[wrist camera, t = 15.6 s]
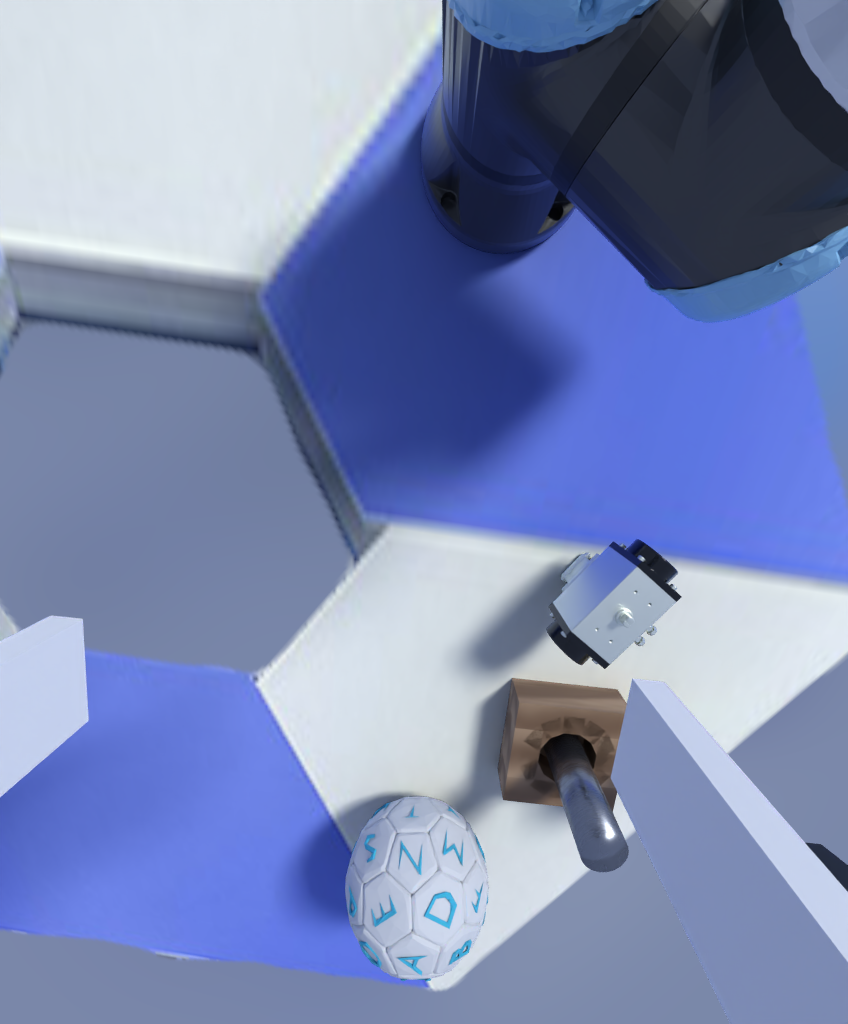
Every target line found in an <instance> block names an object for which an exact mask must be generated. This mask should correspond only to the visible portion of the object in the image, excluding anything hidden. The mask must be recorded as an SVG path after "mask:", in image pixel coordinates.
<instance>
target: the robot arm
mask: <svg viewBox="0 0 848 1024" xmlns="http://www.w3.org/2000/svg"><path fill="white" fill-rule="evenodd" d="M421 164H422V176H423V183H424V187H425V191H426V195H427V197H428V200H429V203H430V205H431V207H432V209H433V211H434V213H435V214H436V216H437V218H438V219H439V220H440V222H441V223H442V224H443V226H444V227H445V228H446V229H447V230H448V231H449V232H450V233H451V234H452V235H453V236H455V237H456V238H457V239H459V240H460V241H462V242H463V243H465V244H467V245H469V246H470V247H473V248H475V249H478V250H481V251H485V252H490V253H513V252H519V251H522V250H526V249H528V248H531V247H533V246H536V245H538V244H539V243H541V242H543V241H544V240H546V239H547V238H549V237H550V236H552V235H553V234H554V233H555V232H556V231H557V230H558V229H559V228H560V227H561V226H562V225H563V224H564V223H565V222H566V221H567V219H568V218H569V217H570V215H571V214H572V212H573V211H574V209H575V208H577V209H578V210H579V211H580V212H581V214H582V215H583V216H584V217H585V218H586V219H587V220H588V221H589V222H590V223H591V224H592V225H593V226H594V227H595V228H596V229H597V230H598V231H599V232H600V233H601V234H602V235H603V236H604V237H605V238H606V239H607V240H608V241H609V242H610V243H611V244H612V245H613V246H614V247H615V248H616V249H617V250H618V251H619V252H620V253H621V254H622V255H623V256H624V257H625V258H626V259H627V260H628V261H629V263H630V264H631V265H632V266H633V267H634V268H635V269H636V270H637V271H638V272H639V273H640V274H641V275H642V276H643V277H644V278H645V279H644V280H645V283H646V285H647V287H648V288H649V289H650V290H651V291H652V292H655V293H657V294H658V295H662V296H663V297H664V298H665V299H666V300H667V301H669V302H670V303H671V304H672V305H673V306H674V307H675V308H676V309H677V310H678V311H679V312H680V313H682V314H683V315H684V316H686V317H687V318H690V319H694V320H696V321H701V322H705V323H713V322H722V321H728V320H732V319H736V318H739V317H742V316H745V315H748V314H751V313H754V312H756V311H759V310H761V309H763V308H766V307H768V306H770V305H772V304H775V303H777V302H779V301H781V300H783V299H785V298H787V297H789V296H791V295H793V294H795V293H797V292H798V291H800V290H802V289H804V288H806V287H807V286H809V285H811V284H813V283H814V282H816V281H818V280H819V279H821V278H823V277H824V276H826V275H827V274H829V273H830V272H832V271H833V270H834V269H836V268H837V267H839V265H840V262H841V260H843V259H844V258H845V257H846V256H848V0H442V82H441V83H440V85H439V87H438V89H437V91H436V93H435V95H434V97H433V99H432V101H431V104H430V106H429V109H428V112H427V115H426V119H425V123H424V127H423V133H422V140H421ZM86 722H88V703H87V685H86V667H85V649H84V633H83V619H79V618H70V617H61V616H52V615H51V616H49V617H47V618H45V619H43V620H41V621H39V622H37V623H35V624H33V625H31V626H29V627H28V628H25V629H23V630H21V631H19V632H17V633H15V634H13V635H11V636H9V637H7V638H5V639H4V640H2V641H0V797H1V796H2V795H3V794H4V793H6V792H7V791H8V790H9V789H10V788H11V787H13V786H14V785H15V784H16V783H17V782H18V781H19V780H21V779H22V778H23V777H24V776H25V775H26V774H28V773H29V772H30V771H31V770H32V769H33V768H34V767H36V766H37V765H38V764H39V763H40V762H41V761H43V760H44V759H45V758H46V757H47V756H48V755H49V754H51V753H52V752H53V751H54V750H55V749H56V748H58V747H59V746H60V745H61V744H62V743H63V742H64V741H66V740H67V739H68V738H69V737H70V736H71V735H73V734H74V733H75V732H76V731H77V730H78V729H79V728H81V727H82V726H83V725H84V724H85V723H86ZM611 780H612V782H613V784H614V786H615V788H616V790H617V792H618V794H619V796H620V798H621V800H622V802H623V804H624V807H625V809H626V811H627V813H628V815H629V817H630V819H631V821H632V823H633V825H634V827H635V829H636V831H637V833H638V835H639V837H640V839H641V841H642V843H643V846H644V847H645V849H646V852H647V853H648V856H649V858H650V860H651V862H652V864H653V866H654V868H655V870H656V872H657V874H658V876H659V878H660V880H661V882H662V885H663V886H664V888H665V891H666V893H667V895H668V897H669V899H670V901H671V903H672V905H673V907H674V909H675V911H676V913H677V915H678V917H679V919H680V921H681V924H682V926H683V928H684V930H685V932H686V934H687V936H688V938H689V940H690V942H691V944H692V946H693V948H694V950H695V952H696V954H697V956H698V958H699V960H700V962H701V965H702V967H703V969H704V970H705V972H706V975H707V977H708V979H709V981H710V983H711V985H712V987H713V989H714V991H715V993H716V995H717V997H718V999H719V1001H720V1004H721V1005H722V1008H723V1010H724V1012H725V1014H726V1016H727V1018H728V1020H729V1022H730V1024H848V865H846V864H845V863H844V862H843V861H842V860H840V859H839V858H838V857H837V856H835V855H834V854H833V853H831V852H830V851H829V850H828V849H826V848H825V847H824V846H822V845H821V844H813V843H805V842H804V841H803V840H802V839H801V838H800V837H799V835H798V834H797V833H796V832H795V831H794V830H793V829H792V827H791V826H790V825H789V824H788V823H787V822H786V821H785V820H784V818H783V817H782V816H781V815H780V814H779V813H778V811H777V810H776V809H775V808H774V807H773V806H772V804H771V803H770V802H769V801H768V800H767V799H766V798H765V796H764V795H763V794H762V793H761V792H760V791H759V790H758V788H757V787H756V786H755V785H754V784H753V783H752V782H751V780H750V779H749V778H748V777H747V776H746V775H745V774H744V772H743V771H742V770H741V769H740V768H739V767H738V766H737V764H736V763H735V762H734V761H733V760H732V759H731V758H730V756H729V755H728V754H727V753H726V752H725V751H724V749H723V748H722V747H721V746H720V745H719V744H718V743H717V741H716V740H715V739H714V738H713V737H712V736H711V735H710V733H709V732H708V731H707V730H706V729H705V728H704V726H703V725H702V724H701V723H700V722H699V721H698V720H697V718H696V717H695V716H694V715H693V714H692V713H691V712H690V710H689V709H688V708H687V707H686V706H685V705H684V704H683V702H682V701H681V700H680V699H679V698H678V697H677V696H676V694H675V693H674V692H673V691H672V690H671V689H670V688H669V686H668V685H667V684H666V683H665V682H660V681H650V680H641V679H632V683H631V688H630V692H629V697H628V701H627V706H626V710H625V715H624V719H623V724H622V728H621V733H620V737H619V742H618V746H617V751H616V756H615V760H614V765H613V769H612V774H611Z"/></svg>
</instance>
